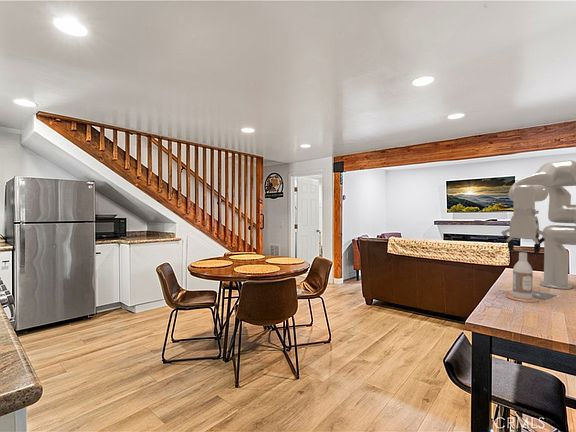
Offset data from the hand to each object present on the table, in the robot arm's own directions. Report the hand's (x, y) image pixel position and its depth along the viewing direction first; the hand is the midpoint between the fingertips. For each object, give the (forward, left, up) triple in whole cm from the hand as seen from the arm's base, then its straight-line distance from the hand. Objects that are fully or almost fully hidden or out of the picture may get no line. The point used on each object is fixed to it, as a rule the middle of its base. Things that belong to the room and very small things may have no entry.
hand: (523, 251), depth 138 cm
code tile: (-13, 0, -21) cm, 25 cm away
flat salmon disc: (0, 0, -21) cm, 21 cm away
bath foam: (0, 0, -21) cm, 21 cm away
